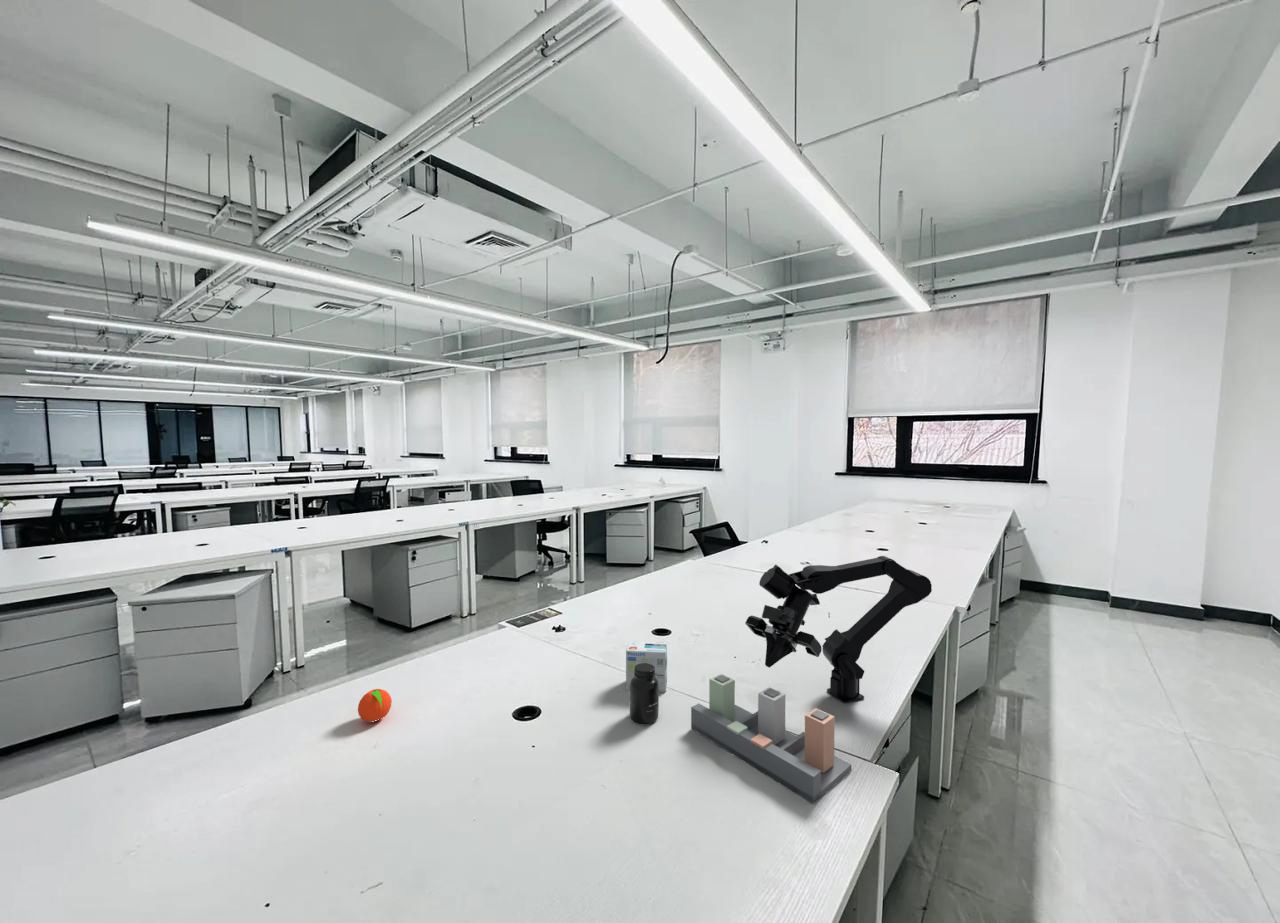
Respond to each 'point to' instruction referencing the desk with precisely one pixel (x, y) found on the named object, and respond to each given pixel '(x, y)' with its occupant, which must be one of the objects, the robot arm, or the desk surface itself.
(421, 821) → the desk surface
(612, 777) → the desk surface
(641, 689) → the supplement bottle
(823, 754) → the peach tall block
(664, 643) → the light bulb box
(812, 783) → the block sorting stand
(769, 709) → the grey block
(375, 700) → the clementine
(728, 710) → the pale green tall block
